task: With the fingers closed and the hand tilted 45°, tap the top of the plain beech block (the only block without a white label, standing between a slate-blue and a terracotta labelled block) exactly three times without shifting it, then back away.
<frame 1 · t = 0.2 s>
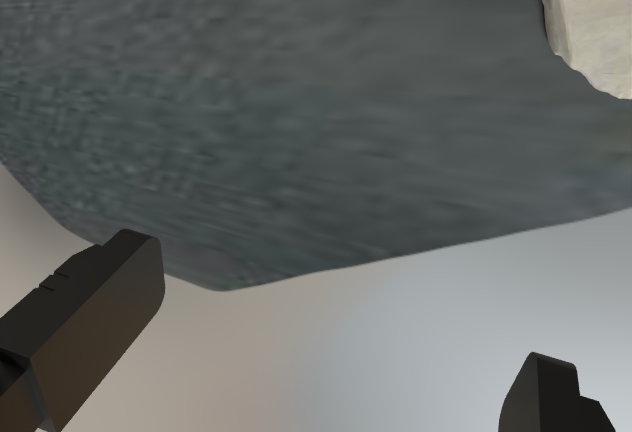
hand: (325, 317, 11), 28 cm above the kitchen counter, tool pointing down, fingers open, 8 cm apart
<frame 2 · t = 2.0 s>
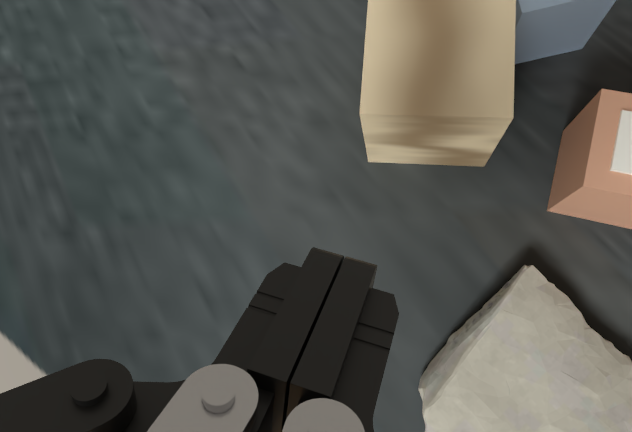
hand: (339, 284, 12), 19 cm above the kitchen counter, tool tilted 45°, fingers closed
blue label block: (529, 23, 32), on the kitchen counter
terracotta label block: (599, 179, 30), on the kitchen counter
plain block: (427, 110, 32), on the kitchen counter
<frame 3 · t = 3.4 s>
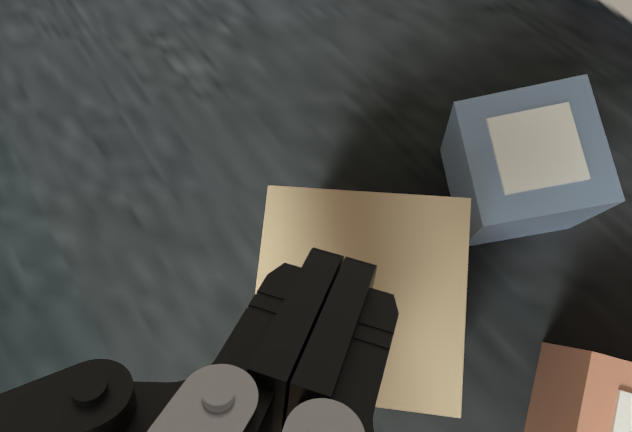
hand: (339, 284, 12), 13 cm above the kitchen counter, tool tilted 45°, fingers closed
blue label block: (502, 188, 25), on the kitchen counter
terracotta label block: (589, 414, 22), on the kitchen counter
plain block: (369, 300, 25), on the kitchen counter
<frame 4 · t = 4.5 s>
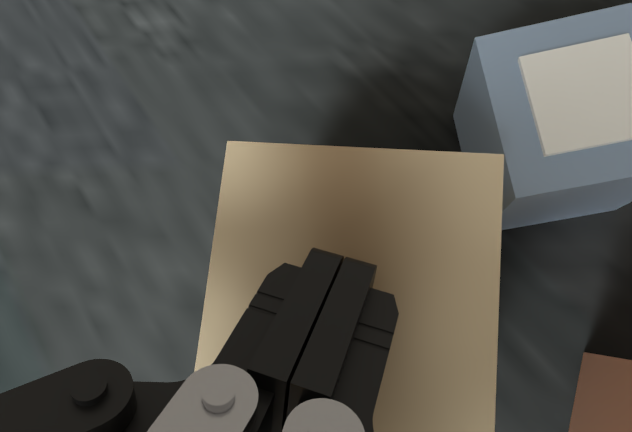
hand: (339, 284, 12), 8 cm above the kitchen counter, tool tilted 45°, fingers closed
blue label block: (530, 161, 20), on the kitchen counter
plain block: (365, 299, 20), on the kitchen counter, touching gripper
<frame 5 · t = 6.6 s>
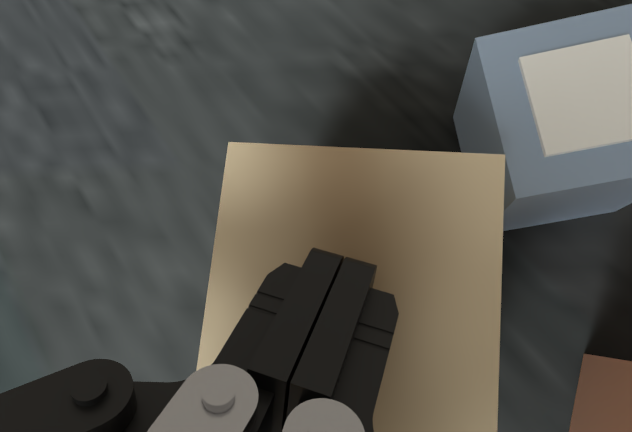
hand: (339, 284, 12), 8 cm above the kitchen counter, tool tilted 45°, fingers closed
blue label block: (530, 162, 20), on the kitchen counter
plain block: (366, 301, 20), on the kitchen counter, touching gripper
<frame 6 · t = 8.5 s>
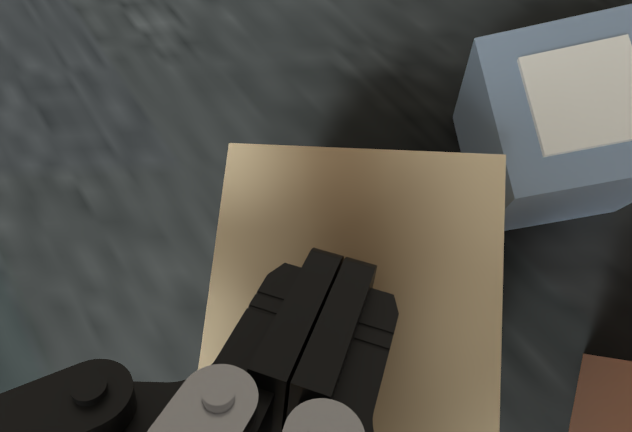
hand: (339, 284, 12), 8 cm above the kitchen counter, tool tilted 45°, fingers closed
blue label block: (529, 162, 20), on the kitchen counter
plain block: (367, 301, 20), on the kitchen counter, touching gripper
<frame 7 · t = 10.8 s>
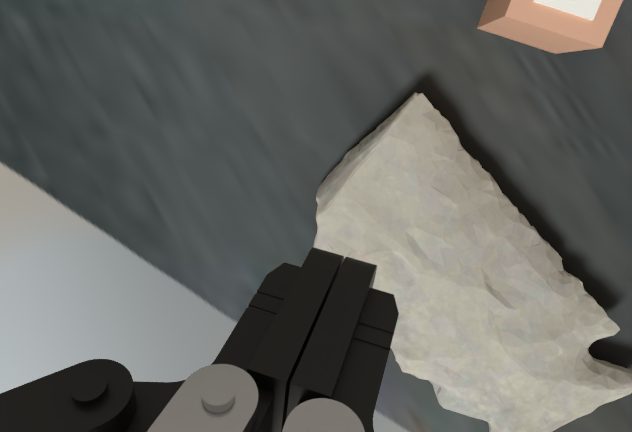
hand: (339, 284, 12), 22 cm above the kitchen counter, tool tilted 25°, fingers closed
stone tool: (457, 284, 35), on the kitchen counter
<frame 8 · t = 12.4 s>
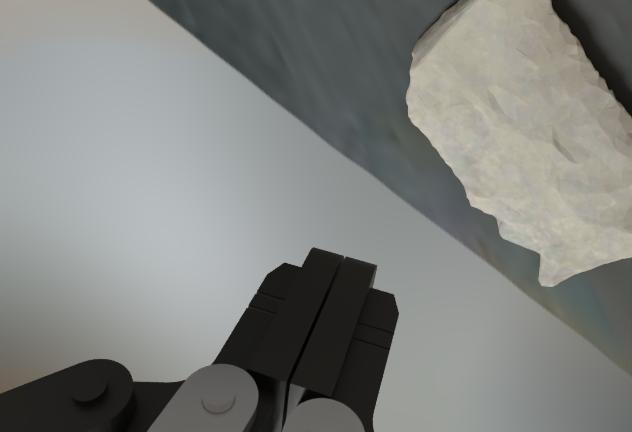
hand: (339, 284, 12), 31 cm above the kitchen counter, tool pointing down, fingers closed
stone tool: (533, 138, 40), on the kitchen counter
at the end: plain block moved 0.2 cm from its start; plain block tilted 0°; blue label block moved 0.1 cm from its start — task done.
